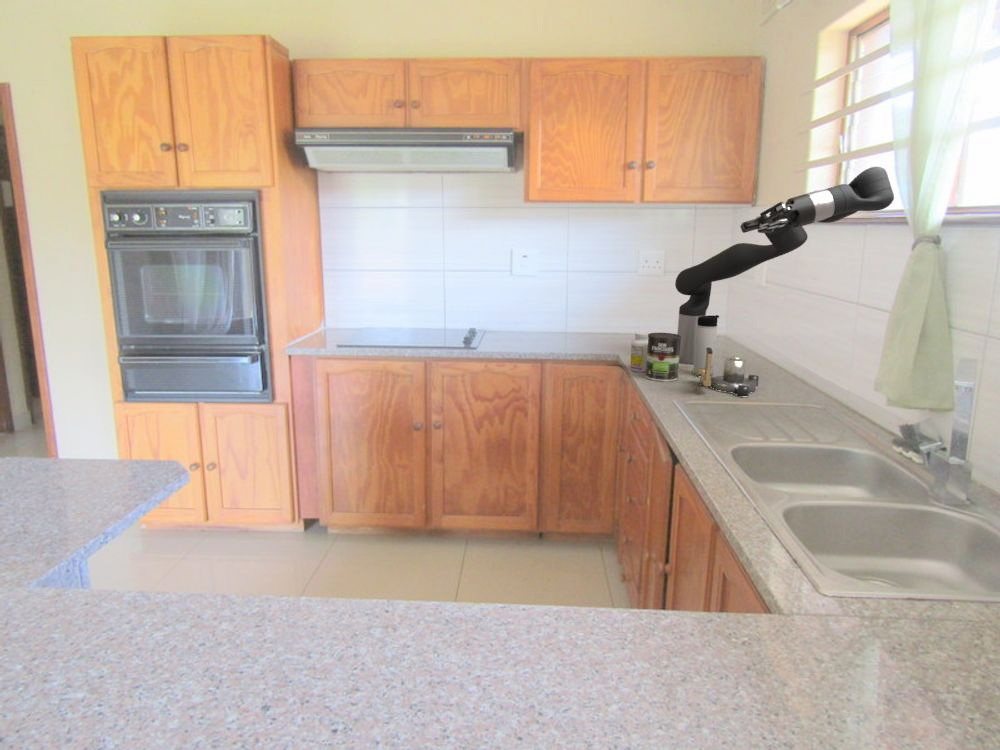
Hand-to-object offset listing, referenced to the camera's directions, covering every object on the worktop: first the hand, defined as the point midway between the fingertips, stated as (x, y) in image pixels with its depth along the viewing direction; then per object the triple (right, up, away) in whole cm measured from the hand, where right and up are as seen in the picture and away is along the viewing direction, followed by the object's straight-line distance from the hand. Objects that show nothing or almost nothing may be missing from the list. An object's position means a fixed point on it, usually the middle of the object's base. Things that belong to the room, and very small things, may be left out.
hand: (742, 228), depth 167 cm
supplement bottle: (-14, -36, +57) cm, 69 cm away
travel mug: (+6, -37, +52) cm, 64 cm away
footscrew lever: (+1, -38, +33) cm, 51 cm away
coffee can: (-9, -38, +47) cm, 61 cm away
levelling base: (+8, -41, +36) cm, 55 cm away
